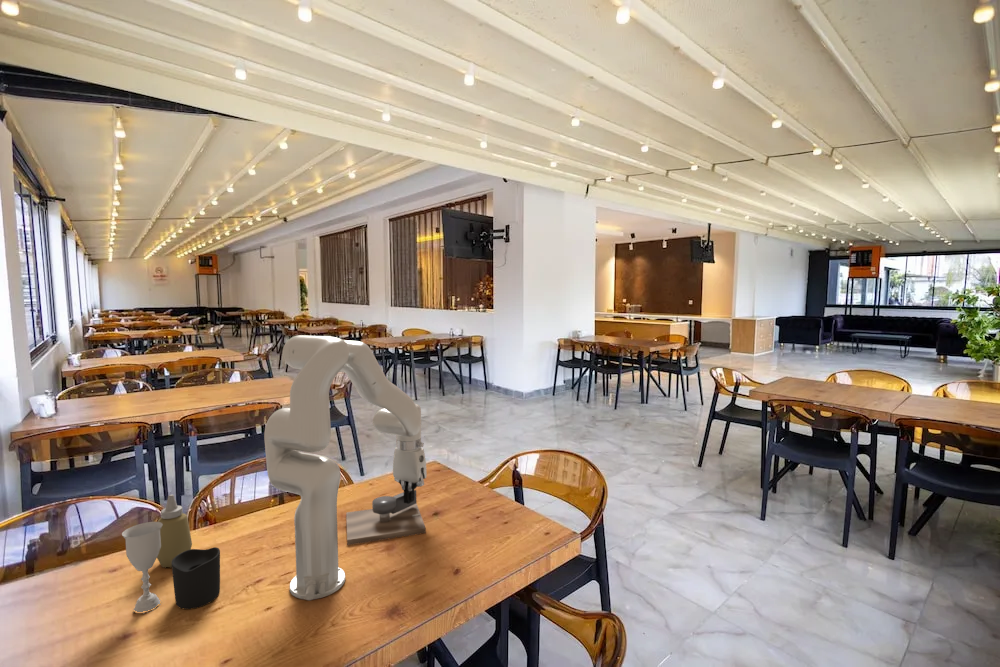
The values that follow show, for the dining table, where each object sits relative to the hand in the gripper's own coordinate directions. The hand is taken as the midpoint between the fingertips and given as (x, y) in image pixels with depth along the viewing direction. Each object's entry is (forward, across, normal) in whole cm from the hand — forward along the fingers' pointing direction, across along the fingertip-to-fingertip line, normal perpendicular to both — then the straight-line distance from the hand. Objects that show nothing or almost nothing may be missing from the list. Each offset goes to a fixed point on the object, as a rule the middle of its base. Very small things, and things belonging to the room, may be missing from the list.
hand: (409, 501), depth 151 cm
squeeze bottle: (+6, +39, +48) cm, 62 cm away
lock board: (+6, +4, +7) cm, 10 cm away
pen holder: (+6, +19, +54) cm, 58 cm away
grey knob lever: (+3, +3, +2) cm, 5 cm away
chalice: (+6, +26, +61) cm, 67 cm away
